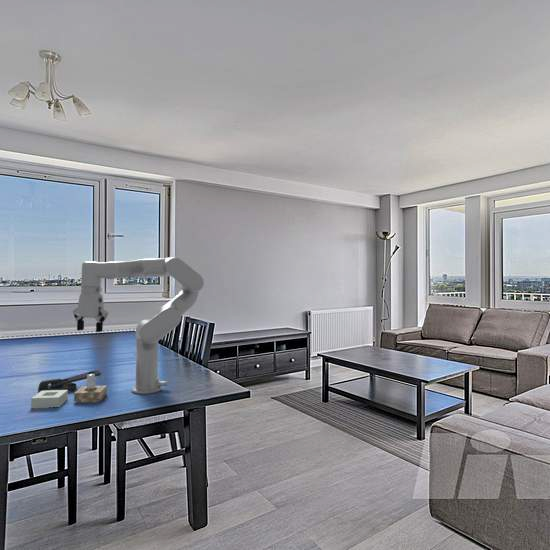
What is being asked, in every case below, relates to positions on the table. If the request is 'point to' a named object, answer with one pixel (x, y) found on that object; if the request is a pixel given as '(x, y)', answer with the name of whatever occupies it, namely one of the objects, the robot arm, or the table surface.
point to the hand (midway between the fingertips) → (89, 330)
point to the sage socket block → (49, 399)
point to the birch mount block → (90, 394)
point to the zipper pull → (61, 385)
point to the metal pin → (91, 382)
